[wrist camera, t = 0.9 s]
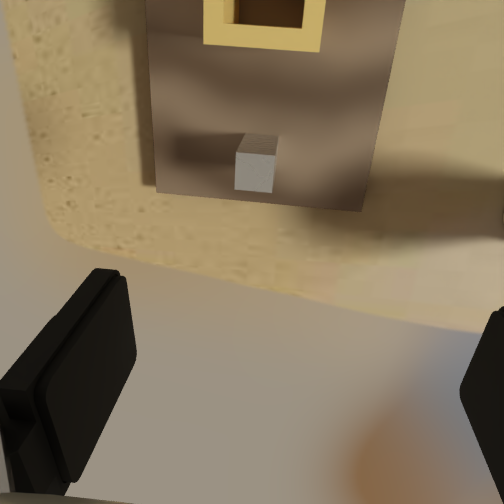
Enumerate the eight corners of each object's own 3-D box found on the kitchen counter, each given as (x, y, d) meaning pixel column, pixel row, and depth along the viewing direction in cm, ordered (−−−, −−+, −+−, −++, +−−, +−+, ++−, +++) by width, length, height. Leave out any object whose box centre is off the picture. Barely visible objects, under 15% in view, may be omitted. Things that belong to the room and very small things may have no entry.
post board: (147, -98, 24) (101, -134, 19) (417, -84, 23) (454, -118, 18) (162, 185, 33) (134, 218, 28) (358, 204, 32) (371, 242, 27)
